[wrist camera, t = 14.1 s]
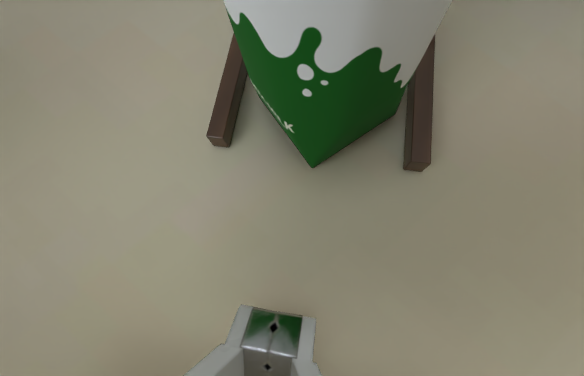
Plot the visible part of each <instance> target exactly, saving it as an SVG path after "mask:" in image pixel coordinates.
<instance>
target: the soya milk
mask: <svg viewBox="0 0 584 376" xmlns="http://www.w3.org/2000/svg"><path fill="white" fill-rule="evenodd" d="M223 1H224V4H225V7H226V10H227V13H228V16H229V19H230V22H231V25H232V28H233V31H234V34H235V37H236V40H237V43H238V46H239V49H240V52H241V55H242V57H243V60H244V63H245V66H246V69H247V72H248V75H249V78H250V80H251V82H252V84H253V86H254V88H255V90H256V92H257V94H258V96H259V98H260V99H261V100H262V102H263V103H264V104H265V106H266V107H267V108H268V110H269V111H270V112H271V114H272V115H273V116H274V118H275V119H276V120H277V122H278V123H279V124H280V126H281V127H282V129H283V130H284V131H285V133H286V134H287V135H288V137H289V138H290V139H291V141H292V142H293V143H294V145H295V146H296V147H297V149H298V150H299V151H300V153H301V154H302V155H303V157H304V158H305V160H306V161H307V162H308V164H309V165H310V166H311V168H314V167H315V166H317V165H318V164H320V163H321V162H323V161H324V160H326V159H327V158H329V157H331V156H332V155H334V154H335V153H337V152H338V151H340V150H341V149H343V148H344V147H346V146H347V145H349V144H350V143H352V142H353V141H355V140H356V139H358V138H359V137H361V136H362V135H364V134H365V133H367V132H368V131H370V130H371V129H373V128H375V127H376V126H378V125H379V124H381V123H382V122H384V121H385V120H387V119H388V118H390V117H391V116H393V115H394V114H395V113H396V111H397V108H398V106H399V104H400V101H401V99H402V97H403V94H404V92H405V89H406V87H407V86H408V84H409V82H410V80H411V78H412V76H413V75H414V73H415V71H416V69H417V67H418V65H419V63H420V61H421V59H422V57H423V55H424V54H425V52H426V50H427V48H428V46H429V44H430V42H431V40H432V38H433V36H434V34H435V33H436V31H437V29H438V27H439V25H440V23H441V21H442V19H443V17H444V15H445V13H446V12H447V10H448V8H449V6H450V4H451V2H452V0H223Z"/></svg>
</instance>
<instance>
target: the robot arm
mask: <svg viewBox="0 0 584 376" xmlns="http://www.w3.org/2000/svg"><path fill="white" fill-rule="evenodd" d="M301 326H302V327H301ZM315 329H316V318H312V317H306V316H303V315H297V314H291V313H285V312H280V311H278V312H277V311H272V310H267V309H262V308H258V307H253V306H248V305H243V304H241V305H240V307H239V308H238V311H237V313H236V316H235V319H234V321H233V324H232V326H231V329H230V332H229V334H228V337H227V339H226V342H225V344H220V345H219V346H217V347H216V348H215V349H214V350H213V351H212V352H210V353H209V354H208V355H207V356H206V357H204V358H203V359H202V360H201V361H200V362H199V363H197V364H196V365H195V366H194V367H193V368H192V369H190V370H189V371H188V372H187V373H186V374H184V375H183V376H322V374H321V372H320V370H319V368H318V366H317V363H314V362H312V361H313V350H314V340H315Z"/></svg>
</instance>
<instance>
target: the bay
mask: <svg viewBox="0 0 584 376" xmlns="http://www.w3.org/2000/svg"><path fill="white" fill-rule="evenodd" d="M434 50H435V34H434V36H433V38H432V40H431V42H430V44H429V46H428V48H427V50H426V52H425V54H424V55H423V57H422V59H421V61H420V63H419V65H418V67H417V69H416V71H415V73H414V75H413V76H412V78H411V80H410V82H409V84H408V101H407V118H406V134H405V151H404V167H403V169H405V170H413V171H423V170H424V169H425V168H426V167H427V166H429V165H430V164H431V141H432V110H433V80H434ZM246 75H247V69H246V66H245V63H244V60H243V57H242V55H241V52H240V49H239V46H238V43H237V40H236V37H235V34H233V38H232V42H231V45H230V49H229V53H228V57H227V60H226V64H225V68H224V72H223V75H222V79H221V83H220V87H219V90H218V94H217V98H216V102H215V105H214V109H213V113H212V117H211V120H210V124H209V128H208V132H207V135H206V136H207V138H208V139H209V140H210V142H211V143H212V144H213V145H214V146H222V147H229V146H230V142H231V137H232V133H233V129H234V125H235V121H236V117H237V113H238V108H239V104H240V100H241V96H242V92H243V88H244V83H245V79H246Z"/></svg>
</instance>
